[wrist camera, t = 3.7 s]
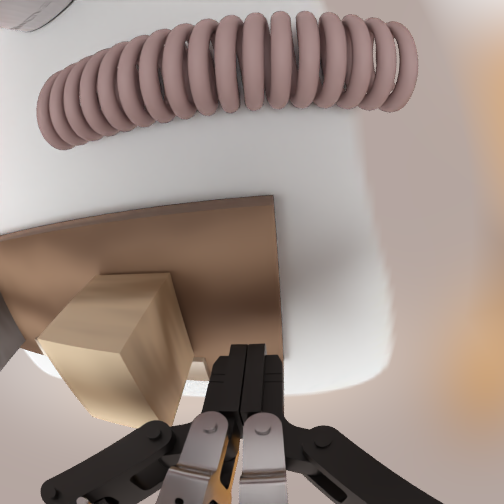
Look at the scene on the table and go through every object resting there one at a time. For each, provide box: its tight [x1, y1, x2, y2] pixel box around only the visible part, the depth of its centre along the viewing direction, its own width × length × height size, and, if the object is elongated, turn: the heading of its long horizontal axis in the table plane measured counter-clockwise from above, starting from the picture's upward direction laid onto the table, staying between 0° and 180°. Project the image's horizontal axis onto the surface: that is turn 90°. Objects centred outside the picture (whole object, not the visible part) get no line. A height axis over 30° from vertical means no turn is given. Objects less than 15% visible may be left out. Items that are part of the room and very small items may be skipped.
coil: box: [37, 11, 418, 150], centre depth 10 cm, size 5×5×18 cm
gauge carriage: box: [37, 273, 194, 428], centre depth 13 cm, size 8×8×6 cm
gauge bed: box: [0, 195, 284, 381], centre depth 14 cm, size 12×28×10 cm, turn 96°
